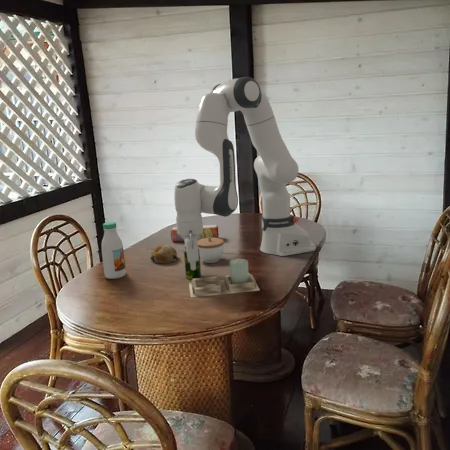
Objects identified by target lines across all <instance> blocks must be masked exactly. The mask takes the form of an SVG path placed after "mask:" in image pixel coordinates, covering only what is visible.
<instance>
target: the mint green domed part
mask: <svg viewBox="0 0 450 450" xmlns="http://www.w3.org/2000/svg"><path fill="white" fill-rule="evenodd" d="M229 275H230V279H231V284H239V283H249V261H248V260H247V259H244V258H235V259H231V260H229Z"/></svg>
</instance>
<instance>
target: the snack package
mask: <svg viewBox="0 0 450 450" xmlns="http://www.w3.org/2000/svg"><path fill="white" fill-rule="evenodd" d="M219 235H220V234H219V226H218V224H207V225H205V224H204V225H203V232H202V233H200V237H199V238H197V241H198V240H200V239H204V238H208V237H211V238H219ZM170 239H171V241H172V242H173V243H174V242H184V239H182V238H181V235H179V234H177V226H174V227H172V228H171V230H170Z"/></svg>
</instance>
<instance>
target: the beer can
mask: <svg viewBox="0 0 450 450" xmlns="http://www.w3.org/2000/svg"><path fill="white" fill-rule="evenodd" d="M192 249H193V248H192ZM198 253H199V248H198ZM183 260H184V271H185V279H187V280H193V279H195V278H202V272H201V270H202V269H201V258H200V253H199V261H197V262H196V269H195V270H191V266H190V262H188V259H187V252H186V246H185V245H184V247H183Z"/></svg>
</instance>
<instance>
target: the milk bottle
mask: <svg viewBox="0 0 450 450" xmlns="http://www.w3.org/2000/svg"><path fill="white" fill-rule="evenodd" d="M102 228H103V236H102V237H103V238H102V240H101V257H102V265H103V272H104V277H105V278H106V279H108V280H109V279H111V280H112V279H113V280H115V279H116V280H117V279H121V278H124V277H125V276H126V274H127V268H126V259H125V251H124V245H123V241H122V239H121V237H120V235H119V233H118V232H117V222H115V221H107V222H104V223H103V224H102Z"/></svg>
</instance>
